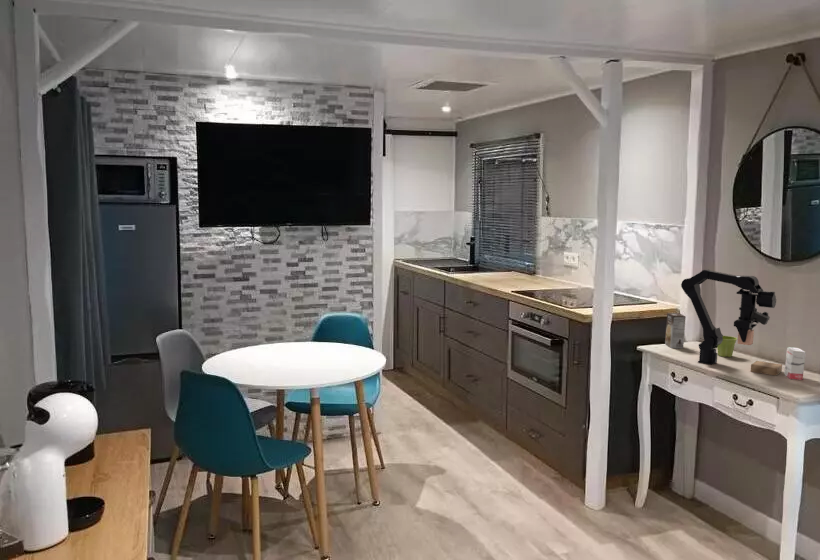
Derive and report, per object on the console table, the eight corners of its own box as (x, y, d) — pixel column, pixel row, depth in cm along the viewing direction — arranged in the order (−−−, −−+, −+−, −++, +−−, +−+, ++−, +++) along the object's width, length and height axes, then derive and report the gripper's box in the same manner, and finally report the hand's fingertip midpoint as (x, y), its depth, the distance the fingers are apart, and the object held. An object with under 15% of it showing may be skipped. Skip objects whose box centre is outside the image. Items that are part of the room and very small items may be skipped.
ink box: (803, 380, 287) (806, 351, 286) (790, 379, 288) (792, 350, 287) (796, 375, 296) (799, 347, 294) (783, 374, 297) (786, 346, 295)
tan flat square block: (750, 371, 300) (751, 364, 300) (756, 367, 308) (756, 360, 308) (776, 375, 294) (777, 368, 294) (781, 371, 302) (782, 364, 302)
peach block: (737, 343, 304) (738, 329, 303) (740, 342, 308) (741, 328, 307) (750, 345, 301) (751, 331, 300) (752, 343, 305) (754, 329, 304)
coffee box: (664, 344, 355) (666, 312, 353) (677, 344, 355) (679, 313, 353) (670, 348, 346) (673, 315, 344) (684, 348, 346) (686, 316, 344)
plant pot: (730, 359, 324) (731, 340, 324) (710, 355, 332) (711, 337, 331) (739, 356, 331) (740, 338, 330) (719, 352, 338) (720, 334, 337)
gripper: (763, 309, 290) (760, 347, 292) (773, 305, 305) (770, 340, 307) (734, 306, 297) (731, 343, 299) (745, 302, 312) (743, 337, 314)
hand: (745, 341), depth 304 cm, fingers closed on peach block, 5 cm apart
